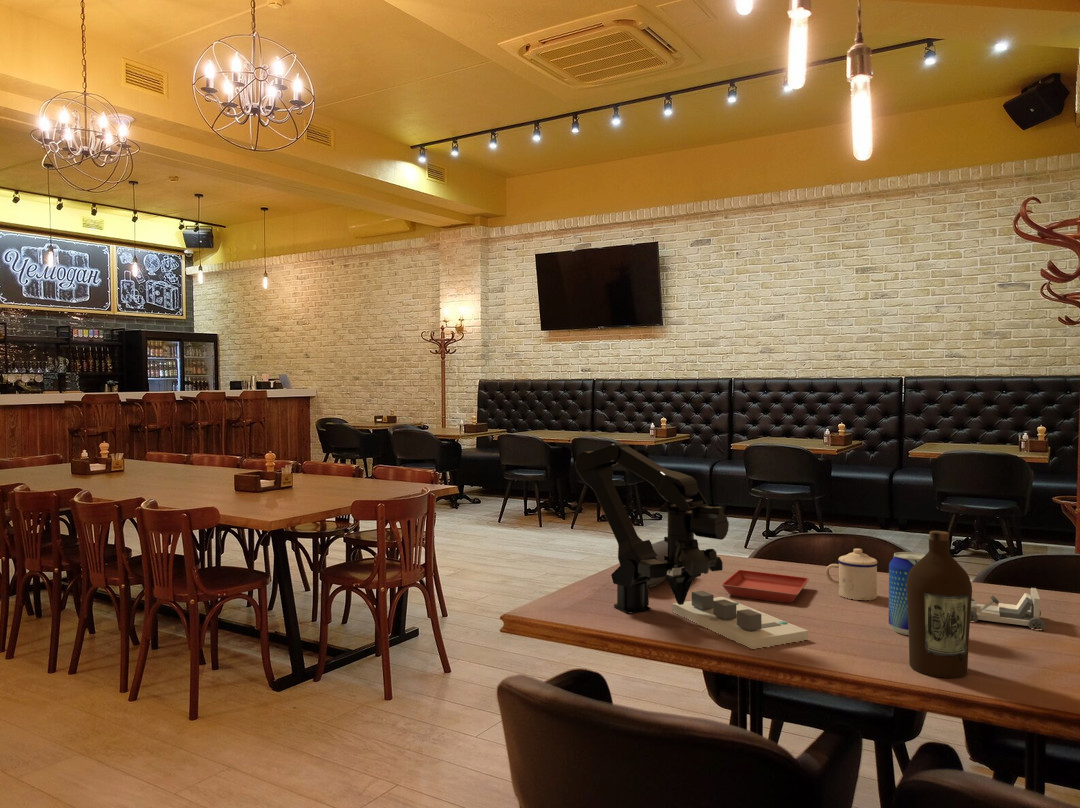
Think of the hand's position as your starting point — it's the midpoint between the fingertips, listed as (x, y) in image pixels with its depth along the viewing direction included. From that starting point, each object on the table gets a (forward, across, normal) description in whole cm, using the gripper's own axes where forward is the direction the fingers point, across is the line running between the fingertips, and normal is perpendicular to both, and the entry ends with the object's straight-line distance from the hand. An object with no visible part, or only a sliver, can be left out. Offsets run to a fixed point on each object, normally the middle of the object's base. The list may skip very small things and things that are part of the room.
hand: (680, 604), depth 171 cm
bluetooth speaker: (+4, +12, +31) cm, 34 cm away
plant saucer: (+4, +33, +11) cm, 35 cm away
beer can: (+4, +40, -26) cm, 48 cm away
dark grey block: (+1, +6, -16) cm, 17 cm away
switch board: (+4, +9, -8) cm, 12 cm away
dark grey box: (+1, +6, -8) cm, 10 cm away
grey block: (+1, +6, 0) cm, 6 cm away
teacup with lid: (+4, +50, 0) cm, 50 cm away
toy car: (+4, +65, -27) cm, 70 cm away
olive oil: (+4, +26, -44) cm, 51 cm away
